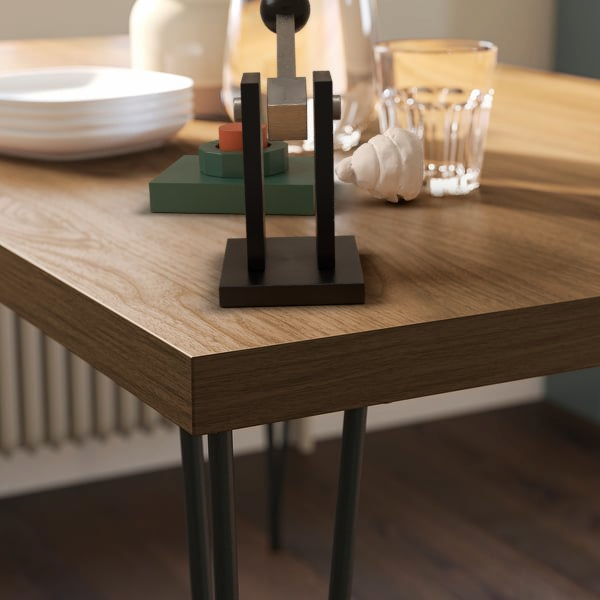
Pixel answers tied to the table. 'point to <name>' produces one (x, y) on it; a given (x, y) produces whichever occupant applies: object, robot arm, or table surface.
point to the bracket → (290, 250)
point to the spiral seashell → (386, 165)
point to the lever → (286, 71)
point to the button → (236, 137)
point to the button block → (234, 182)
